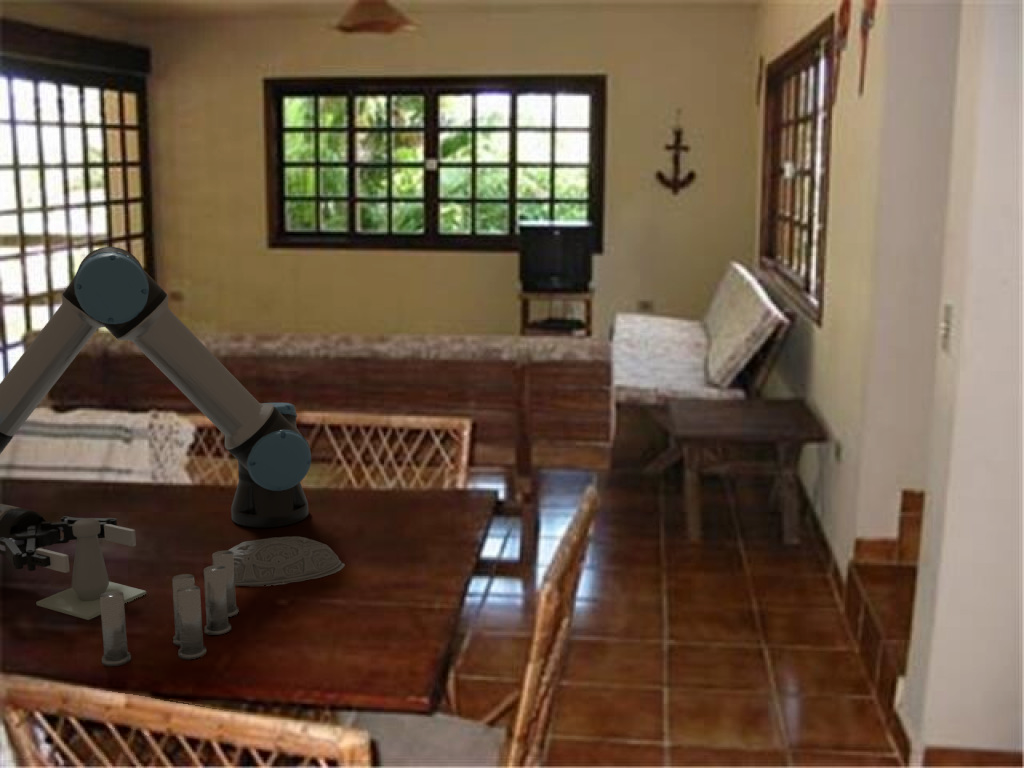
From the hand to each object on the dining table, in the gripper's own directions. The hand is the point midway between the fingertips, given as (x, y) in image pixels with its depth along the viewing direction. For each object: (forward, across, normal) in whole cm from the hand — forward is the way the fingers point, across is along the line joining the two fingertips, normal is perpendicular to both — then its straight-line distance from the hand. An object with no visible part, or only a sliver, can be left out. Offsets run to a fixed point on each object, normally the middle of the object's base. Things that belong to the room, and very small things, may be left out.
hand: (101, 550), depth 185 cm
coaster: (-3, 0, -9) cm, 10 cm away
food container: (+14, -25, -10) cm, 30 cm away
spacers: (+20, +4, -9) cm, 22 cm away
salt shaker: (-3, 0, -9) cm, 9 cm away
